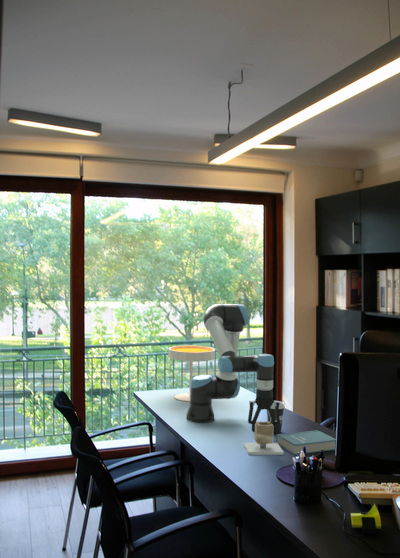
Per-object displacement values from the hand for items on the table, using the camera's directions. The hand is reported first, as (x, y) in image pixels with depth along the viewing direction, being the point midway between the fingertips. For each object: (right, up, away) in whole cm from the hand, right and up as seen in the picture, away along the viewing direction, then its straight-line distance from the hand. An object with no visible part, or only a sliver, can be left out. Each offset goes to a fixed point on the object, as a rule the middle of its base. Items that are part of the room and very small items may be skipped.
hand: (263, 438), depth 244 cm
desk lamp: (-35, -3, +95) cm, 101 cm away
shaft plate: (0, -5, 0) cm, 5 cm away
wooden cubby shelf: (0, -1, 0) cm, 1 cm away
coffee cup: (+9, -5, +28) cm, 30 cm away
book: (+21, -6, +7) cm, 23 cm away
